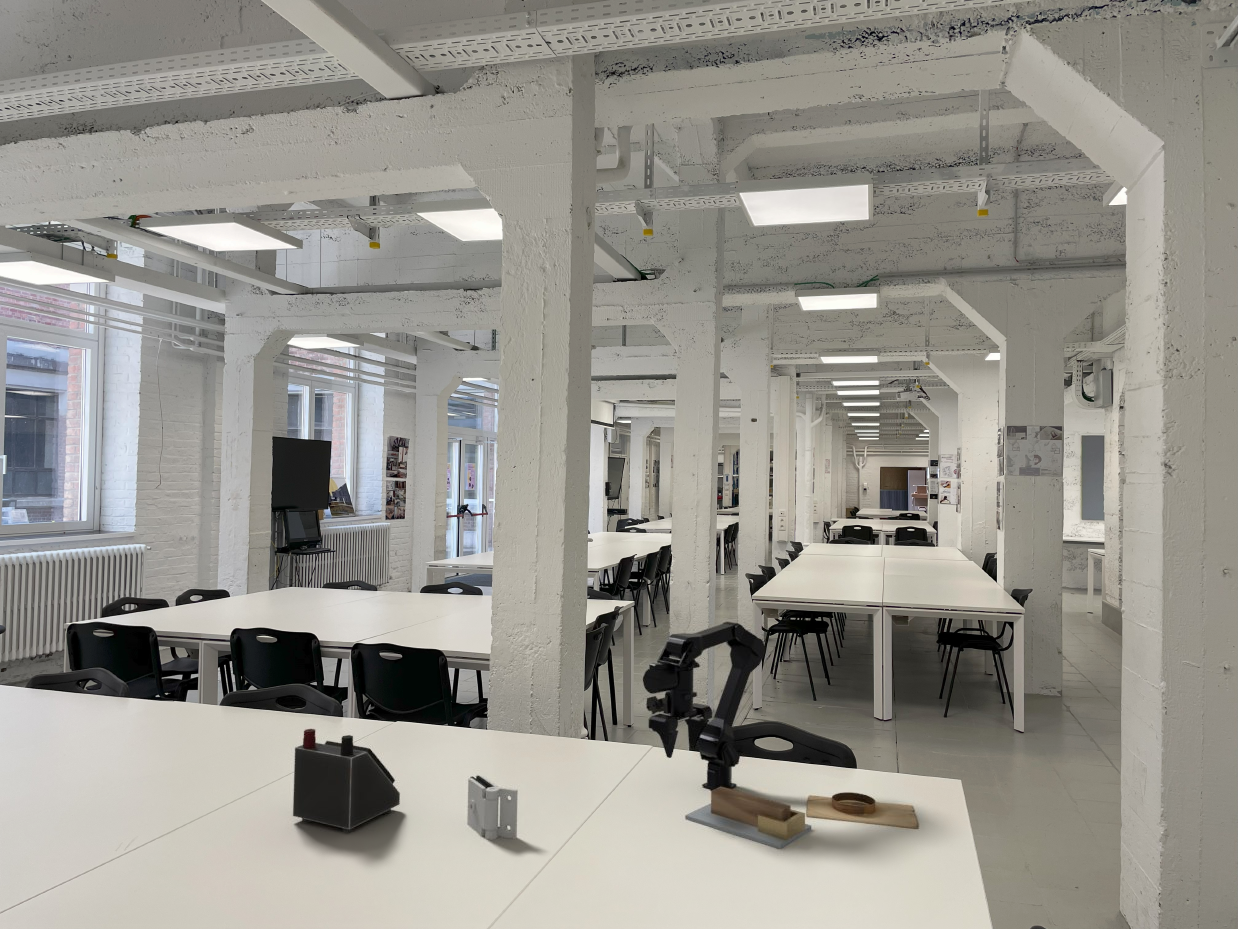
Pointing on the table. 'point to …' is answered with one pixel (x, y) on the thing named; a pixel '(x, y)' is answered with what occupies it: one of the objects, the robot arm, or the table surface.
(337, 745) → the voltmeter
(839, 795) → the board
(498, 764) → the table surface
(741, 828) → the mounting board
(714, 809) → the walnut rail
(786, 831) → the cup bracket
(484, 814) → the hinge
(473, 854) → the table surface
